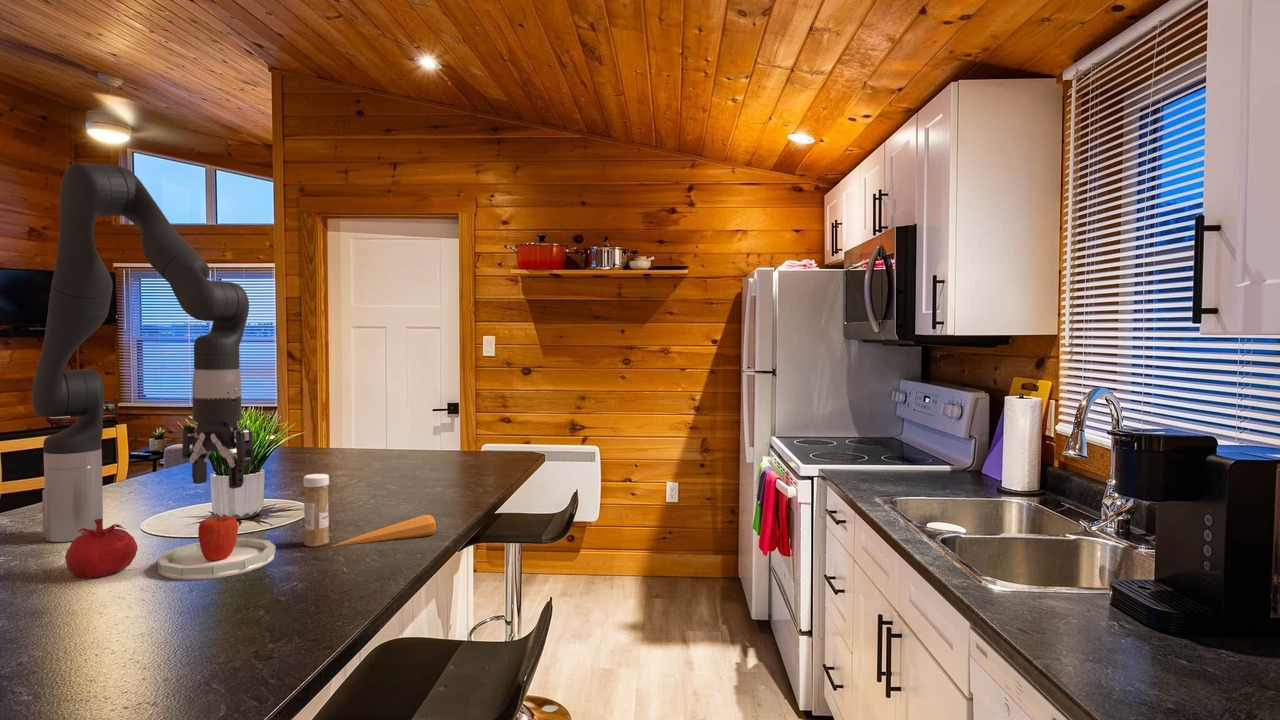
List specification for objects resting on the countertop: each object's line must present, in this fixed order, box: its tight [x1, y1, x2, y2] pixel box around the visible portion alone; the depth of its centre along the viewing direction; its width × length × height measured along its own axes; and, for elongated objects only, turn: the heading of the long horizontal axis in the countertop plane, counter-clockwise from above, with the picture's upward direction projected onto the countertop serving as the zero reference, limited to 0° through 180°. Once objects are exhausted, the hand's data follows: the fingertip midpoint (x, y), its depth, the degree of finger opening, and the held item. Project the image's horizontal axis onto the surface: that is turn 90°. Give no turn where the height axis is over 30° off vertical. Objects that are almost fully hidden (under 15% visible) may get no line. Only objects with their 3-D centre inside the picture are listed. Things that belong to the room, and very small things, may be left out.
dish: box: [156, 537, 277, 581], centre depth 134 cm, size 18×18×2 cm
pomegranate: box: [64, 518, 138, 579], centre depth 128 cm, size 10×10×9 cm
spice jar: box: [303, 473, 330, 548], centre depth 146 cm, size 5×5×13 cm
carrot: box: [332, 514, 438, 547], centre depth 150 cm, size 20×4×4 cm, turn 119°
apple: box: [198, 515, 239, 561], centre depth 134 cm, size 6×6×8 cm
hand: (217, 485), depth 133 cm, fingers open, 8 cm apart
